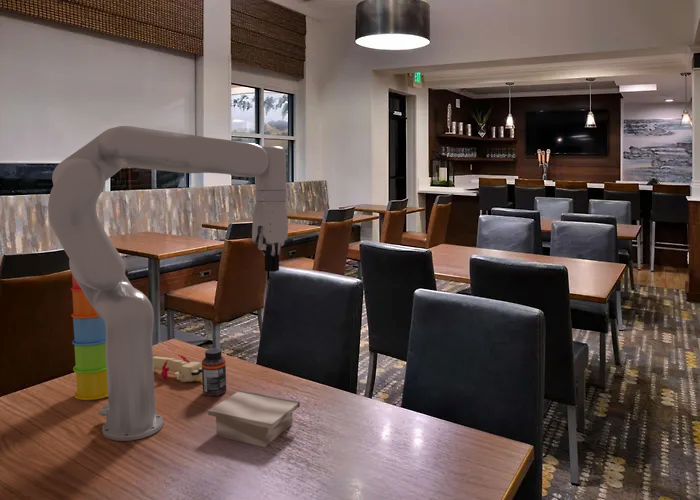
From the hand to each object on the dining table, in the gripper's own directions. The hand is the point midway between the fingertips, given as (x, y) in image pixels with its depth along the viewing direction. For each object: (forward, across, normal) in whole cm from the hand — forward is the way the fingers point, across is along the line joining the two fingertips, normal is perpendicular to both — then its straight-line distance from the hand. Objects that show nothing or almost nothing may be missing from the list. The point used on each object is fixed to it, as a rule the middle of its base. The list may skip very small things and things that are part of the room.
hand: (271, 270), depth 140 cm
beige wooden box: (+32, +19, +7) cm, 38 cm away
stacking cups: (+32, +19, -41) cm, 56 cm away
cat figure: (+33, +1, -33) cm, 47 cm away
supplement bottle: (+32, +6, -14) cm, 36 cm away
